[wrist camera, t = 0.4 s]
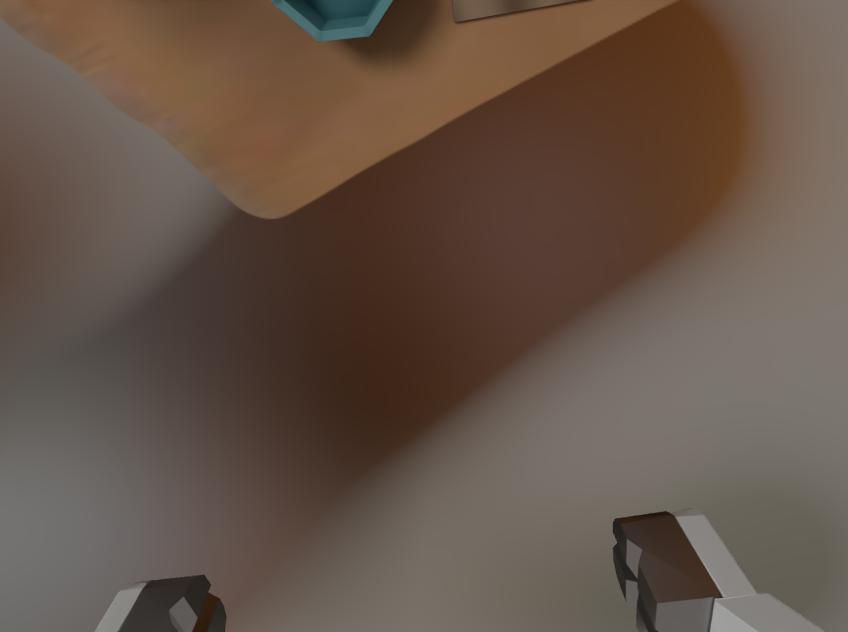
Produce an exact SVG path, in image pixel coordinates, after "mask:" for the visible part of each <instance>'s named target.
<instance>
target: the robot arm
mask: <svg viewBox="0 0 848 632" xmlns="http://www.w3.org/2000/svg"><path fill="white" fill-rule="evenodd" d="M613 534H614V536H615V538H616V541H617V544H616V545H615V546H614V547H613V561H614V566H615V571H616V575H617V578H618V582H619V584H620V588H621V590H622V593H623V595H624V598H625V601H626V602H627V603H628V604H629V605H631V606H632V607H633V608H634V609H635V610H636V612H637V613H636V628H637V630H638V632H826V631H824V630H823V629H822V628H820V627H819V626H817V625H816V624H814V623H812V622H811V621H810V620H808V619H807V618H805V617H803V616H802V615H800V614H799V613H797V612H796V611H794V610H793V609H791V608H790V607H788V606H787V605H785V604H784V603H782V602H781V601H779V600H778V599H776V598H775V597H773V596H772V595H770V594H769V593H758V592H757V591H756V589H755V588H754V586H753V585H752V583H751V582H750V581H749V579H748V578H747V576H746V575H745V573H744V572H743V570H742V569H741V567H740V566H739V564H738V563H737V562H736V560H735V559H734V557H733V556H732V554H731V553H730V551H729V550H728V548H727V547H726V545H725V544H724V542H723V541H722V539H721V538H720V536H719V535H718V534H717V532H716V531H715V529H714V528H713V526H712V525H711V523H710V522H709V520H708V519H707V517H706V516H705V514H704V513H703V512H702V511H701V510H699V509H698V508H689V509H683V510H676V511H670V512H667V511H663V512H656V513H649V514H643V515H636V516H629V517H623V518H616V519H614V521H613ZM210 587H211V584H210V582H209V581H208V579H207V578H206V576H205V575H196V576H186V577H179V578H178V577H177V578H169V579H159V580H150V581H141V582H134V583H128V584H127V585H126V586H124V587H123V588H122V589H121V590H120V591H119V592H118V594H117V595H116V597H115V599H114V600H113V602H112V604H111V605H110V607H109V609H108V610H107V612H106V614H105V615H104V617H103V619H102V620H101V622H100V624H99V625H98V627H97V629H96V630H95V632H225V627H226V612H225V608H224V605H223V603H222V601H221V600H220V598H218V597H216V596H214V595H212V594H210V593H209V589H210Z"/></svg>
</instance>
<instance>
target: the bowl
mask: <svg viewBox="0 0 848 632" xmlns="http://www.w3.org/2000/svg"><path fill="white" fill-rule="evenodd" d="M392 1H393V0H272V3H273V4H274V5H275V6H276V7H278V8H279V9H280V10H281V11H283V12H284V13H285V14H286V15H287V16H289V17H290V18H291V19H292V20H293V21H295V22H296V23H297V24H298V25H300V26H301V27H302V28H303V29H304V30H306V31H307V32H308V33H309V34H310V35H312V36H313V37H314V38H315V39H317V40H318V42H322V41H331V40H340V39H349V38H357V37H366V36H371V33H372V32H373V30H374V29H375V27H376V26H377V24H378V23H379V21H380V19H381V18H382V16H383V15H384V13H385V12H386V10H387V9H388V7H389V6H390V4H391V3H392Z"/></svg>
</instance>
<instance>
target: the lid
mask: <svg viewBox="0 0 848 632" xmlns="http://www.w3.org/2000/svg"><path fill="white" fill-rule="evenodd" d="M572 1H577V0H452V4H453V16H454V22H459V21H465V20H470V19H476V18H482V17H487V16H493V15H498V14H504V13H510V12H515V11H521V10H527V9H532V8H538V7H544V6H549V5H555V4H561V3H566V2H572Z"/></svg>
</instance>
